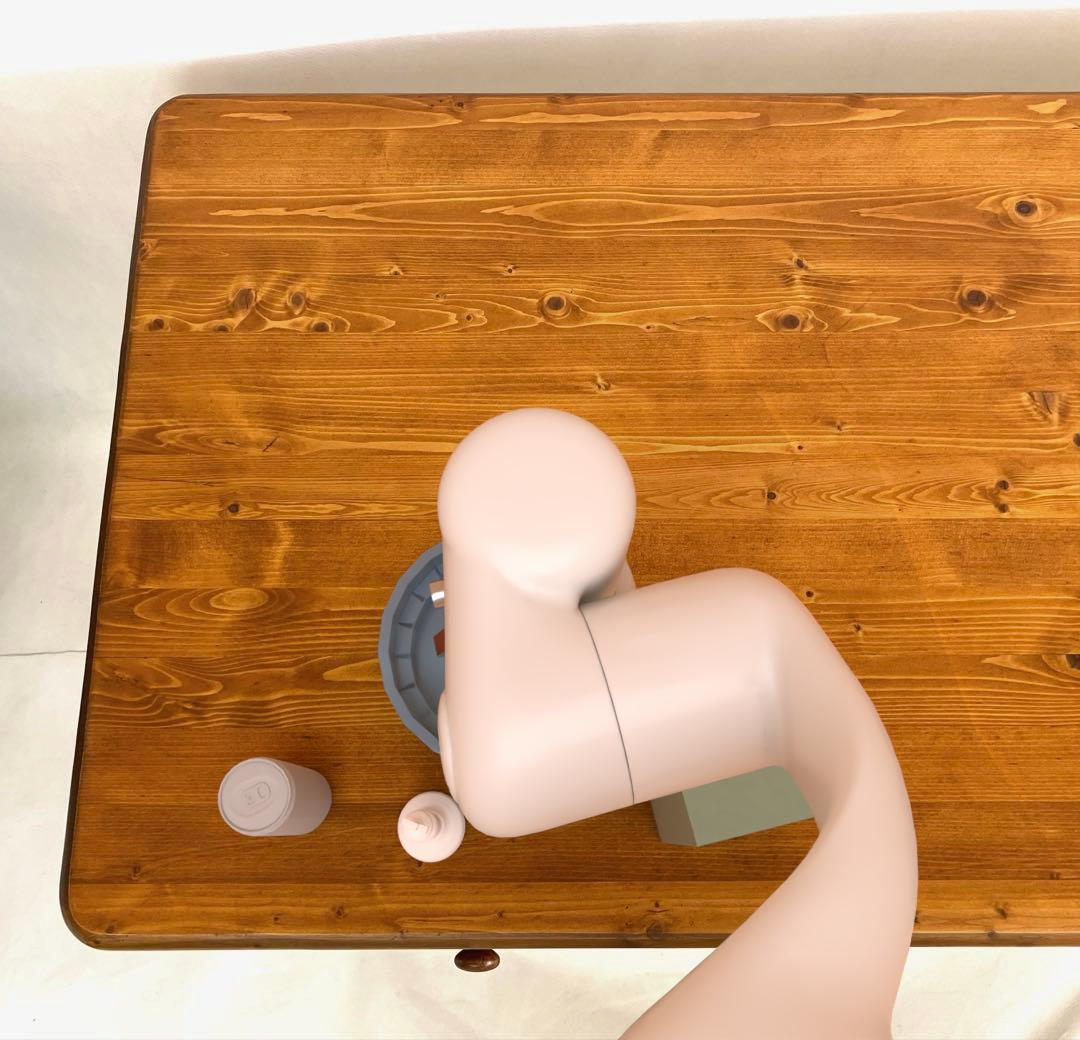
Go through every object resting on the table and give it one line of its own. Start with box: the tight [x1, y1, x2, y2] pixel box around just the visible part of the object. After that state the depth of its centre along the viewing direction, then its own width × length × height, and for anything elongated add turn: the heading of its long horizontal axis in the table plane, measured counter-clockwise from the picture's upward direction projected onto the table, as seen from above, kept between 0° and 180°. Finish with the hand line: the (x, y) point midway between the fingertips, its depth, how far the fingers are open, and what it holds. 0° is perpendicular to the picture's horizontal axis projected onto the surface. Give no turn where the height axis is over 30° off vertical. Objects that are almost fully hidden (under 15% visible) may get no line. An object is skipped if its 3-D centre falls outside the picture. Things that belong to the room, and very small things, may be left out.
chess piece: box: [397, 790, 466, 863], centre depth 67 cm, size 5×5×10 cm
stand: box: [649, 766, 814, 848], centre depth 64 cm, size 10×10×18 cm
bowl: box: [376, 541, 445, 756], centre depth 73 cm, size 18×18×6 cm
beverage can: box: [217, 756, 333, 837], centre depth 66 cm, size 5×5×12 cm
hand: (541, 642), depth 64 cm, fingers closed on stirring stick, 2 cm apart
